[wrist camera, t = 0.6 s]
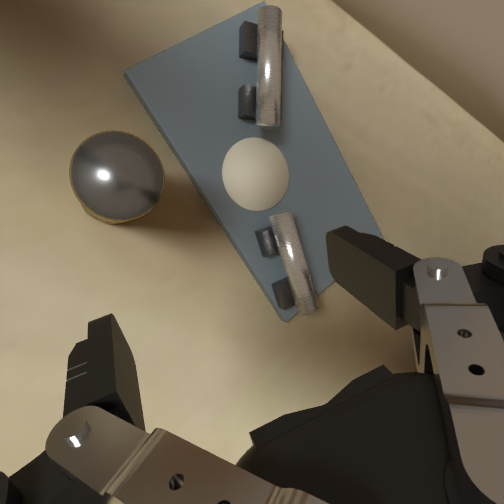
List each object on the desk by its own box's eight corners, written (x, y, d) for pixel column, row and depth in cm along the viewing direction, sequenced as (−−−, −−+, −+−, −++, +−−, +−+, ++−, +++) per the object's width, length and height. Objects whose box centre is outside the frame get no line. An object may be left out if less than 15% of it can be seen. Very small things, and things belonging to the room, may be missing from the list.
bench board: (123, 75, 28) (125, 69, 27) (259, 7, 32) (265, -1, 31) (281, 319, 35) (287, 322, 34) (376, 237, 39) (385, 238, 38)
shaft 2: (246, 221, 33) (266, 219, 29) (280, 208, 34) (303, 206, 30) (275, 310, 35) (297, 320, 31) (305, 295, 36) (330, 303, 32)
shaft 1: (270, 137, 33) (292, 125, 30) (233, 132, 32) (252, 119, 28) (272, 37, 33) (295, 11, 29) (235, 27, 31) (254, -1, 28)
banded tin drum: (64, 183, 27) (47, 158, 18) (119, 151, 28) (131, 113, 19) (104, 236, 28) (107, 238, 19) (155, 203, 30) (182, 191, 21)
